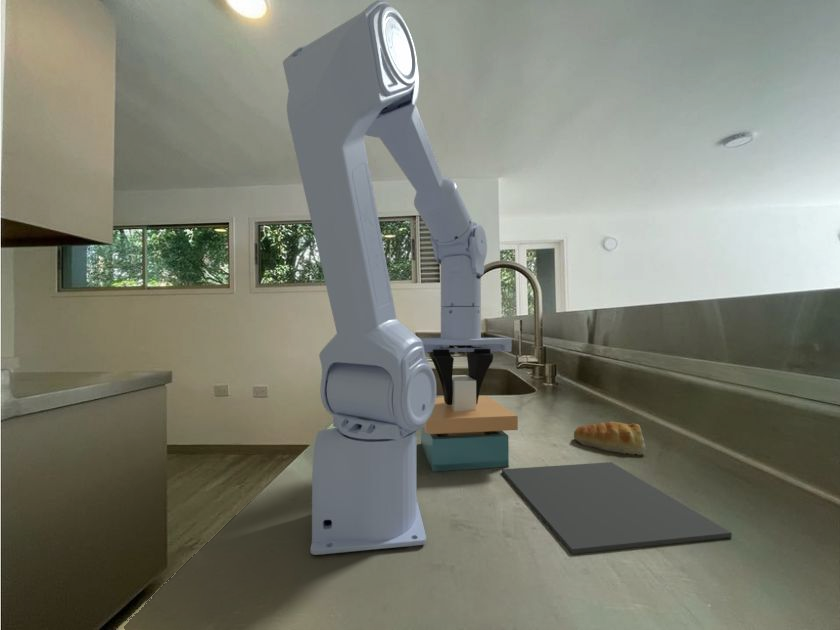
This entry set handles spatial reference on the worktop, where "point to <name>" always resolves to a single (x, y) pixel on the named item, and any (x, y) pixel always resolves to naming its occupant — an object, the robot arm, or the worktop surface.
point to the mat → (608, 508)
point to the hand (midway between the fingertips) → (460, 402)
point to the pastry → (612, 437)
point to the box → (466, 450)
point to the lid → (468, 412)
